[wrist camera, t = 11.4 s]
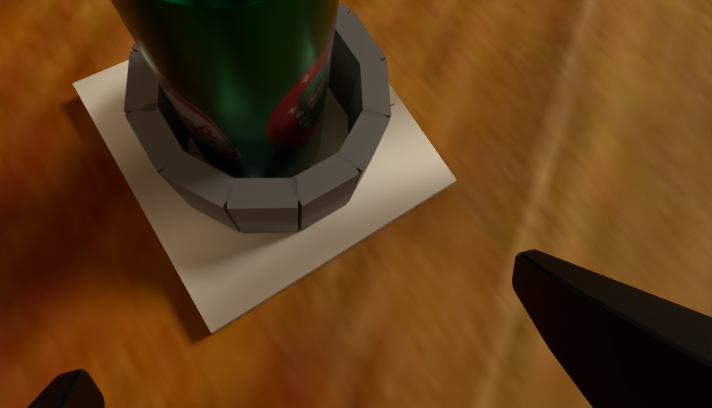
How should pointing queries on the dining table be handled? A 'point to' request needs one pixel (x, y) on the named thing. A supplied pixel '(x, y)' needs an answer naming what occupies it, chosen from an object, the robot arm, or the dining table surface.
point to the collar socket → (267, 179)
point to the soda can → (242, 76)
